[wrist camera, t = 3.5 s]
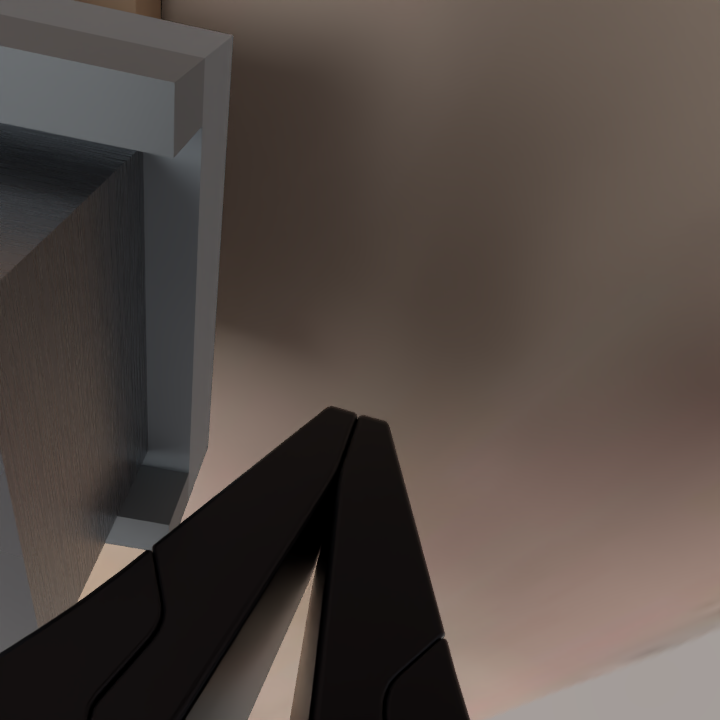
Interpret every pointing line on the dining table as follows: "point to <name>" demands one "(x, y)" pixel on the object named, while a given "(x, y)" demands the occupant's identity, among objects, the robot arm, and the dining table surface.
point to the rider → (66, 363)
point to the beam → (161, 200)
